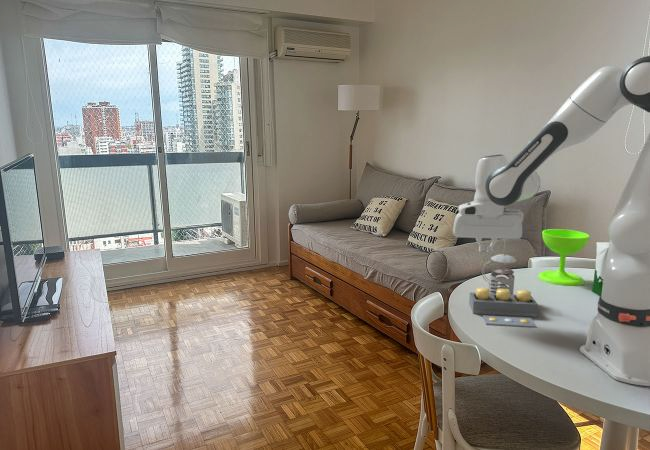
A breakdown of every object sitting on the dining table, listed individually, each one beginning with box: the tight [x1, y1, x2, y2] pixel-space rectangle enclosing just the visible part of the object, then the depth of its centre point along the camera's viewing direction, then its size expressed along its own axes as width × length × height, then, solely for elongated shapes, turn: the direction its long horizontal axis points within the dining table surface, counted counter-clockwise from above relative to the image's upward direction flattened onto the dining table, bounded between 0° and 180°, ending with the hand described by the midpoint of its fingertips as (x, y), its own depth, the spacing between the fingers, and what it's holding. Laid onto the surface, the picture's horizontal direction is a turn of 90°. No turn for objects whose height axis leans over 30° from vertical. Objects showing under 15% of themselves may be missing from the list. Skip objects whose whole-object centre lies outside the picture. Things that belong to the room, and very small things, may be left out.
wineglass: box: [537, 228, 590, 287], centre depth 173 cm, size 16×16×18 cm
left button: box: [475, 287, 490, 300], centre depth 144 cm, size 4×4×3 cm
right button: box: [516, 289, 532, 302], centre depth 142 cm, size 4×4×3 cm
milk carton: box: [591, 241, 610, 297], centre depth 155 cm, size 9×9×20 cm
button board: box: [468, 292, 539, 328], centre depth 140 cm, size 16×19×4 cm
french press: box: [481, 241, 517, 295], centre depth 153 cm, size 10×12×25 cm
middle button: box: [496, 289, 510, 301], centre depth 143 cm, size 4×4×3 cm
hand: (485, 251), depth 141 cm, fingers closed
